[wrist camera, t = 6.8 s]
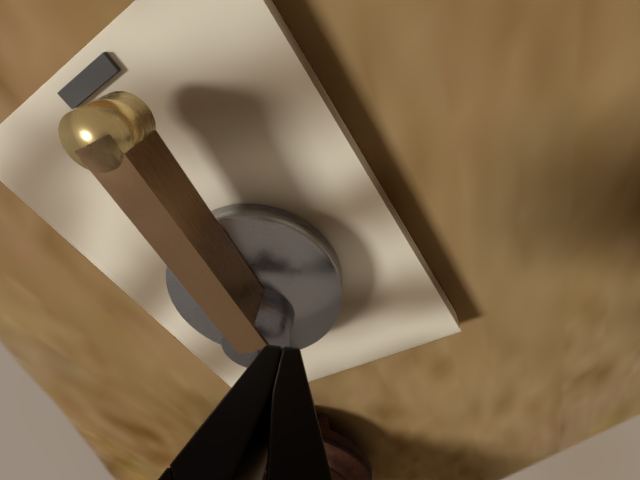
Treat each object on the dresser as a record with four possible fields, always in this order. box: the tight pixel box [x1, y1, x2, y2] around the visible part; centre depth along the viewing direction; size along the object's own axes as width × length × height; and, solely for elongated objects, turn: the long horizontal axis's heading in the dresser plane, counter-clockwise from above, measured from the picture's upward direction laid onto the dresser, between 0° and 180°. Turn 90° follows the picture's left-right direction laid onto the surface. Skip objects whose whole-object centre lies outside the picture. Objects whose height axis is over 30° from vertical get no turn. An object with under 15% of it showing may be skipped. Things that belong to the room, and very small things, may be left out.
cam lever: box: [58, 91, 342, 368], centre depth 18 cm, size 15×9×4 cm, turn 25°
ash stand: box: [0, 0, 461, 387], centre depth 21 cm, size 22×16×2 cm
